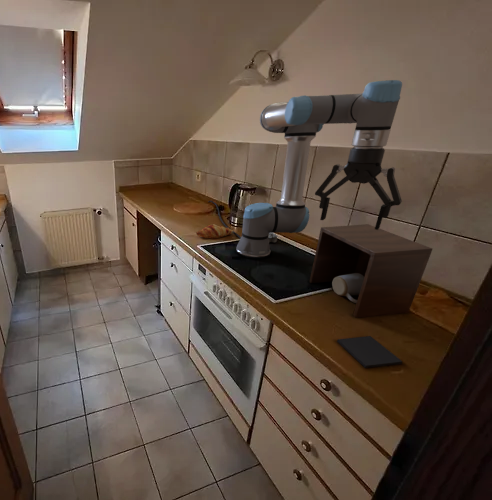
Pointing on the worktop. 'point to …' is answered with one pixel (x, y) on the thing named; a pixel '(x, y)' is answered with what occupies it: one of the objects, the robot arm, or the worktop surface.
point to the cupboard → (372, 266)
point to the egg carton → (272, 237)
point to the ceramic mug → (348, 285)
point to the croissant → (214, 231)
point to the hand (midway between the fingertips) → (348, 223)
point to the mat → (369, 352)
